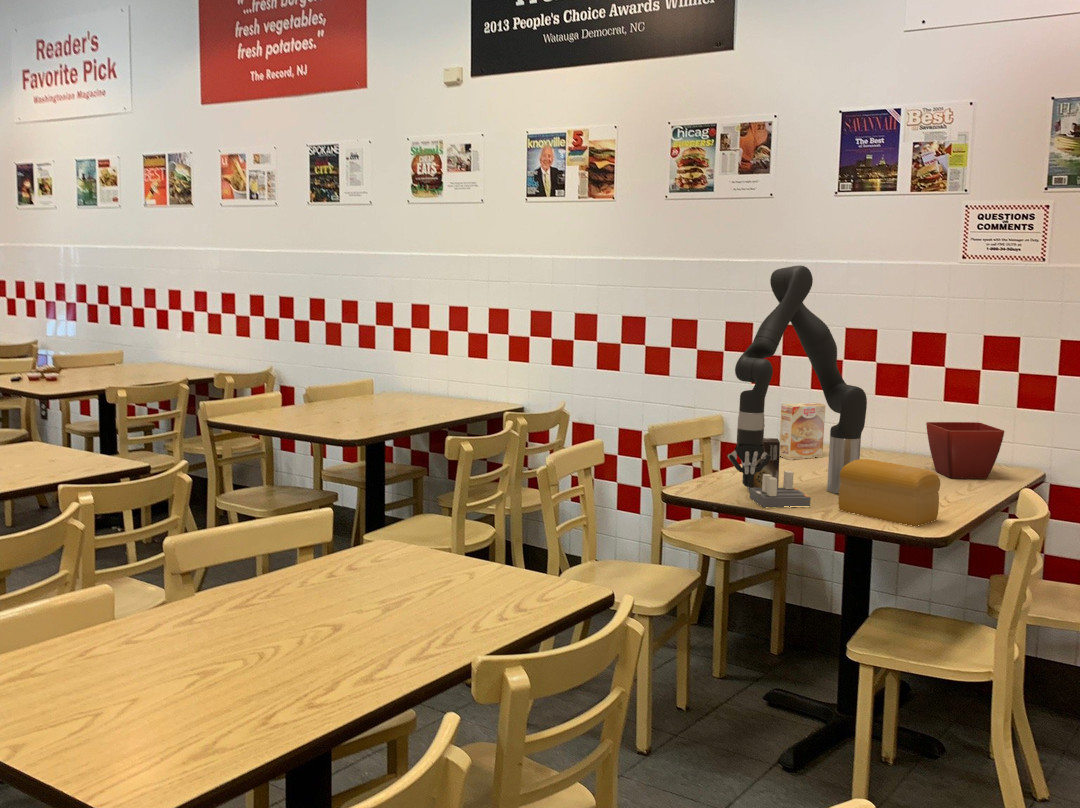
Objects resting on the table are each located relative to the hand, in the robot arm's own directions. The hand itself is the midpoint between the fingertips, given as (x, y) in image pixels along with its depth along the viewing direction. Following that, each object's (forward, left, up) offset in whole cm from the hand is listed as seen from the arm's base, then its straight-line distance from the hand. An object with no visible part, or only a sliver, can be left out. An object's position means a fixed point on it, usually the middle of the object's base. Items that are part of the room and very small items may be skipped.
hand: (747, 486), depth 306 cm
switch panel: (-11, -4, -6) cm, 13 cm away
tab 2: (-7, 0, -3) cm, 8 cm away
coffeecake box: (-43, -74, -6) cm, 86 cm away
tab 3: (-15, -9, -3) cm, 18 cm away
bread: (-37, +12, -6) cm, 40 cm away
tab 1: (-7, -4, -3) cm, 9 cm away
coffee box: (-11, -20, -6) cm, 24 cm away
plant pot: (-87, -41, -6) cm, 97 cm away
